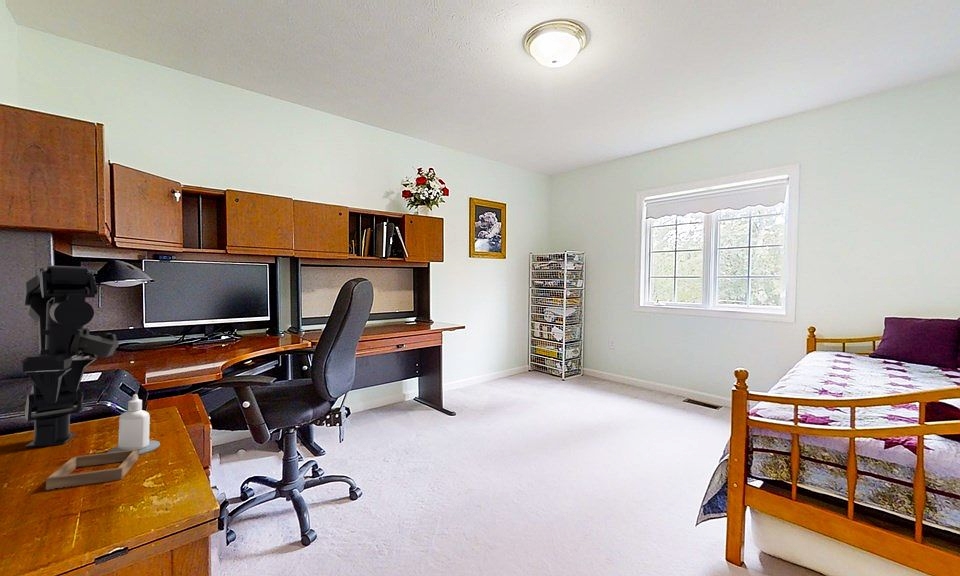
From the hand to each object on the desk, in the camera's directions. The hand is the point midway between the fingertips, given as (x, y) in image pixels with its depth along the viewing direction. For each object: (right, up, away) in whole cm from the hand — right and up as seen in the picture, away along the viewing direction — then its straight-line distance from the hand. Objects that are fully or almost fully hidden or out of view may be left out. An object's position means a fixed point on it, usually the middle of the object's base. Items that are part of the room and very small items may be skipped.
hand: (63, 396), depth 86 cm
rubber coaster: (+11, -13, +5) cm, 18 cm away
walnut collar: (+13, -13, -7) cm, 20 cm away
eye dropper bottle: (+11, -13, +5) cm, 18 cm away
